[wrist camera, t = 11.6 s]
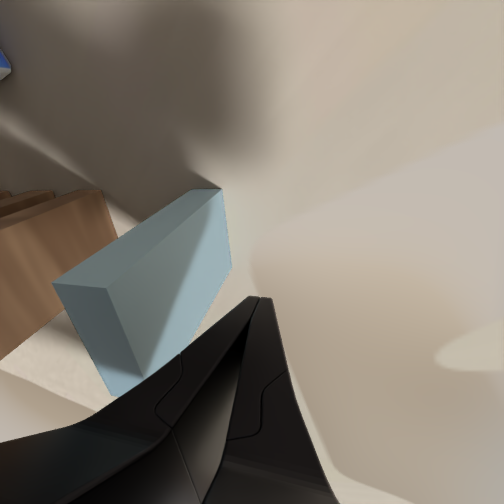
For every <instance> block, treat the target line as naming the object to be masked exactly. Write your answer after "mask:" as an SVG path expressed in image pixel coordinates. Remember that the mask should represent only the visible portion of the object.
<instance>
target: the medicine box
mask: <svg viewBox="0 0 504 504" xmlns="http://www.w3.org/2000/svg"><path fill="white" fill-rule="evenodd" d="M9 73H11V65H10V63H9V62H8V60H7V58H6V57H5V55H4V53H3V52H2V50H1V49H0V80H2V79H3V78H4V77H5V76H7V75H8V74H9Z"/></svg>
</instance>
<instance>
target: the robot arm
mask: <svg viewBox="0 0 504 504" xmlns="http://www.w3.org/2000/svg"><path fill="white" fill-rule="evenodd" d="M0 504H340V503H339V502H338V500H337V498H336V497H335V495H334V493H333V491H332V489H331V487H330V484H329V482H328V480H327V478H326V476H325V473H324V471H323V469H322V466H321V464H320V461H319V459H318V456H317V453H316V451H315V448H314V446H313V443H312V441H311V438H310V435H309V433H308V430H307V428H306V425H305V422H304V420H303V417H302V414H301V412H300V409H299V406H298V403H297V400H296V397H295V393H294V390H293V386H292V382H291V378H290V373H289V370H288V365H287V361H286V357H285V352H284V348H283V344H282V339H281V335H280V331H279V326H278V322H277V318H276V313H275V309H274V304H273V301H272V299H271V298H267V297H261V298H260V297H257V296H248V297H247V298H246V299H244V300H243V301H242V302H241V303H240V304H238V305H237V306H236V307H235V308H233V309H232V310H231V311H230V312H229V313H227V314H226V315H225V316H224V317H222V318H221V319H220V320H219V321H218V322H216V323H215V324H214V325H213V326H212V327H210V328H209V329H208V330H207V331H205V332H204V333H203V334H202V335H201V336H199V337H198V338H197V339H196V340H194V341H193V342H192V343H191V344H190V345H188V346H187V347H186V348H185V349H184V350H182V351H181V352H180V354H177V355H176V356H175V357H174V358H172V359H171V360H170V361H169V362H167V363H166V364H165V365H164V366H162V367H161V368H160V369H158V370H157V371H156V372H155V373H153V374H152V375H150V376H149V377H148V378H146V379H145V380H143V381H142V382H141V383H139V384H138V385H136V386H135V387H133V388H132V389H130V390H129V391H128V392H126V393H125V394H123V395H122V396H120V397H119V398H117V399H116V400H114V401H113V402H111V403H110V404H109V405H107V406H106V407H104V408H103V409H101V410H100V411H98V412H97V413H95V414H94V415H92V416H90V417H88V418H87V419H85V420H83V421H80V422H78V423H76V424H73V425H70V426H67V427H63V428H59V429H55V430H51V431H47V432H43V433H39V434H34V435H31V436H26V437H22V438H18V439H14V440H10V441H6V442H2V443H0Z"/></svg>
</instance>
